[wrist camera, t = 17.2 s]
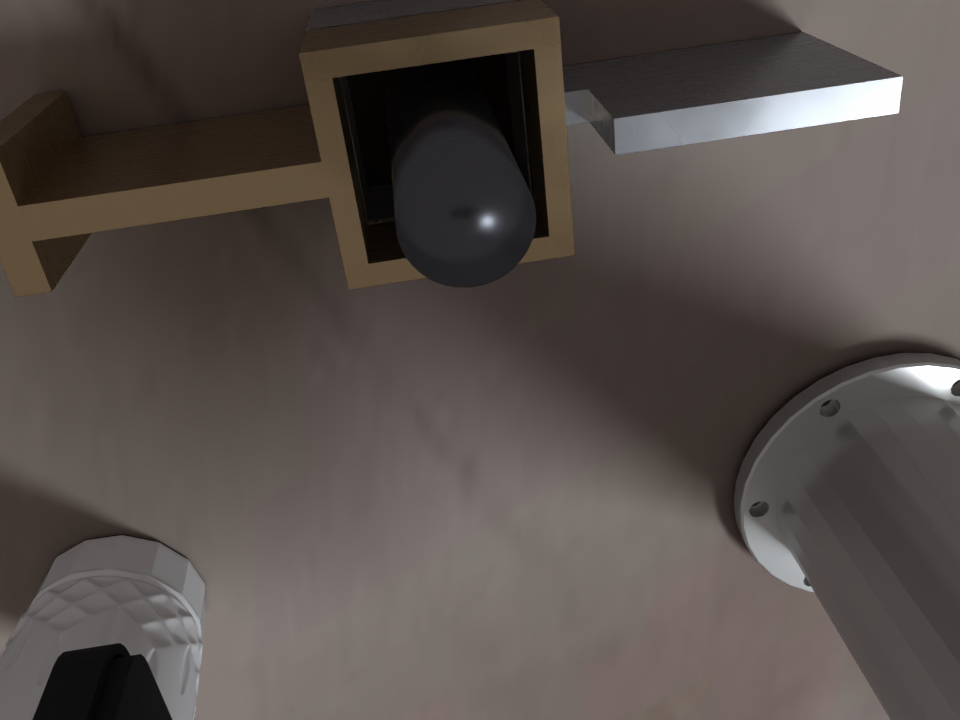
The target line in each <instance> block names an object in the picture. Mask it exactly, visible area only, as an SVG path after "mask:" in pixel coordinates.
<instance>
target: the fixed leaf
mask: <svg viewBox="0 0 960 720" xmlns="http://www.w3.org/2000/svg"><path fill="white" fill-rule="evenodd" d="M515 1H522V0H381V1H374V2H367V3H359V4H352V5H345V6H338V7H331V8H324V9H317V10H312V11H311V14H310V17H309V21H308V24H307V27H306V31H310V30H317V29H324V28H331V27H338V26H345V25H353V24H360V23H367V22H374V21H381V20H388V19H395V18H402V17H409V16H416V15H423V14H430V13H437V12H444V11H452V10H459V9H466V8H473V7H480V6H487V5H494V4H501V3H508V2H515ZM505 54H506V65H507V75H508V85H509V96H510V106H511V116H512V126H513V137H514V147H515V157H516V163H517V165H518V167H519V169H520V171H521V174H522V176H523V178H524V180H525V182H526V184H527V186H528V189H529V191H530V193H531V195H532V189H531V178H530V167H529V156H528V145H527V134H526V122H525V111H524V100H523V89H522V78H521V66H520V55H519V51H517V52H510V53H505ZM562 67H563V82H564V97H565V112H566V126H567V125H573V124H580V123H587V122H590V123H591V125H592V126H593V127H594V128H595V130H596V131H597V132H598V133H599V135H600V136H601V137H602V139H603V140H604V141H605V142H606V144H607V145H608V146H609V147H610V149H611V150H612V151H613V153H614V154H615V155H618V154H625V153H632V152H639V151H645V150H652V149H659V148H666V147H672V146H679V145H686V144H693V143H699V142H706V141H713V140H720V139H726V138H733V137H740V136H746V135H753V134H760V133H767V132H773V131H780V130H787V129H794V128H800V127H807V126H814V125H821V124H827V123H834V122H841V121H847V120H854V119H861V118H868V117H874V116H881V115H888V114H895V113H899V105H900V97H901V89H902V81H903V76H901V75H899V74H896V73H894V72H892V71H890V70H888V69H885V68H883V67H881V66H879V65H876V64H874V63H872V62H870V61H867V60H865V59H863V58H861V57H858V56H856V55H854V54H852V53H849V52H847V51H845V50H843V49H841V48H838V47H836V46H834V45H832V44H829V43H827V42H825V41H823V40H820V39H818V38H816V37H814V36H811V35H809V34H807V33H805V32H798V33H791V34H784V35H777V36H770V37H763V38H756V39H749V40H743V41H736V42H729V43H722V44H715V45H708V46H701V47H694V48H687V49H680V50H673V51H666V52H659V53H653V54H646V55H639V56H632V57H625V58H618V59H611V60H604V61H597V62H590V63H583V64H576V65H569V66H562ZM340 80H341V86H342V91H343V96H344V101H345V107H346V112H347V117H348V122H349V128H350V133H351V138H352V143H353V149H354V154H355V159H356V164H357V170H358V175H359V180H360V185H361V191H362V196H363V201H364V206H365V212H366V217H367V222H368V225H369V224H376V223H382V222H389V221H395V210H394V198H393V186H392V184H385V185H378V186H371V187H367V181H366V176H365V171H364V165H363V160H362V155H361V149H360V144H359V139H358V133H357V128H356V122H355V117H354V112H353V106H352V101H351V96H350V90H349V85H348V80H347V76H342V77H340Z"/></svg>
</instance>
